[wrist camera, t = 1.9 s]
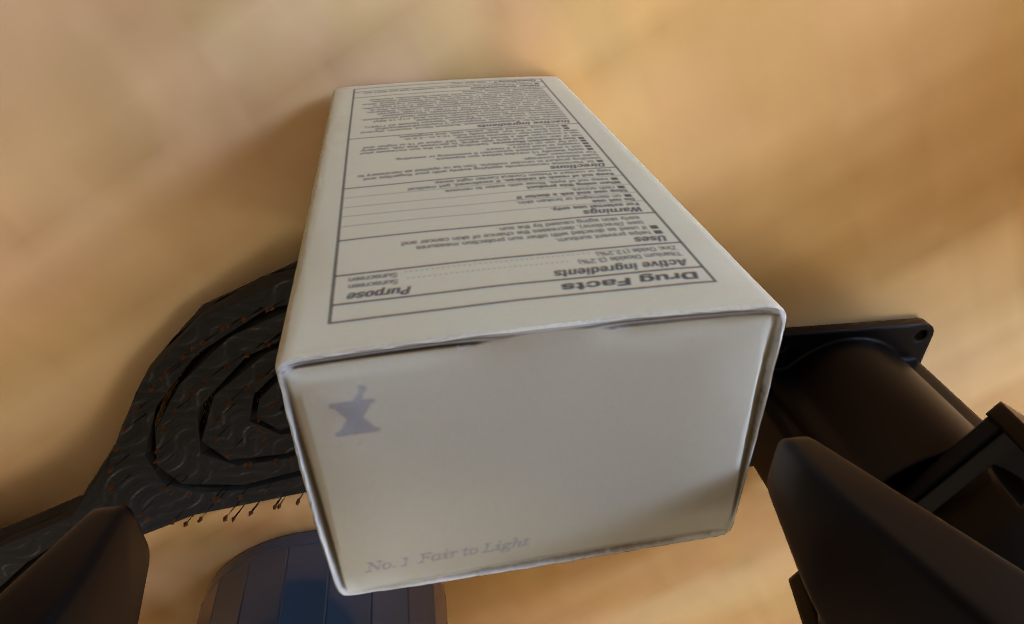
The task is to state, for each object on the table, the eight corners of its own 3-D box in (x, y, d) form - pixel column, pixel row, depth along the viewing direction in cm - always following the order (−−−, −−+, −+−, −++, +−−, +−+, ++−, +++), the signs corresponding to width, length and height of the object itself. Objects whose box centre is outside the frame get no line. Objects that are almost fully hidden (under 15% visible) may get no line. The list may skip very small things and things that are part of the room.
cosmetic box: (354, 232, 20) (318, 610, 10) (330, 76, 17) (247, 363, 7) (565, 215, 20) (736, 550, 10) (570, 64, 18) (800, 308, 8)
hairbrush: (-294, 605, 20) (448, 240, 16) (-200, 505, 23) (444, 176, 19) (-45, 712, 24) (581, 452, 20) (7, 617, 27) (561, 373, 23)
